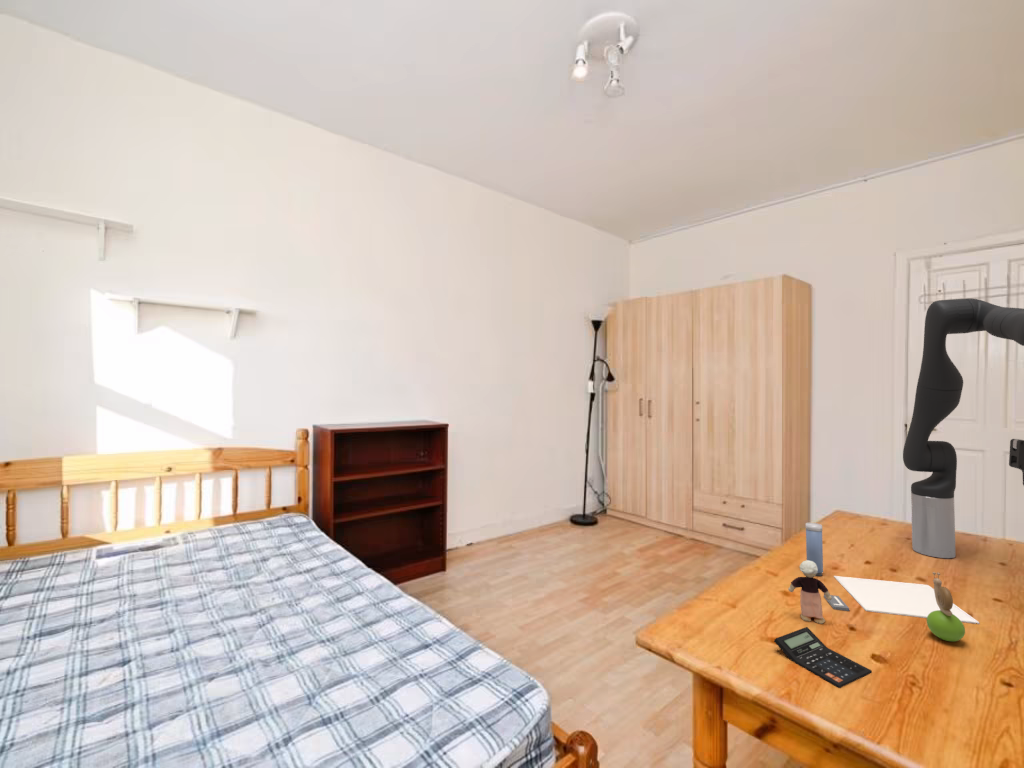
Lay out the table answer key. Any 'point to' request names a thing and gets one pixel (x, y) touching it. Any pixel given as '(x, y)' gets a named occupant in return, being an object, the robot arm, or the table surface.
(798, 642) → the calculator
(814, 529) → the grey-blue cylinder
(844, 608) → the letter card
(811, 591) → the grandmother figurine
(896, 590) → the paper
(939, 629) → the snail figurine
